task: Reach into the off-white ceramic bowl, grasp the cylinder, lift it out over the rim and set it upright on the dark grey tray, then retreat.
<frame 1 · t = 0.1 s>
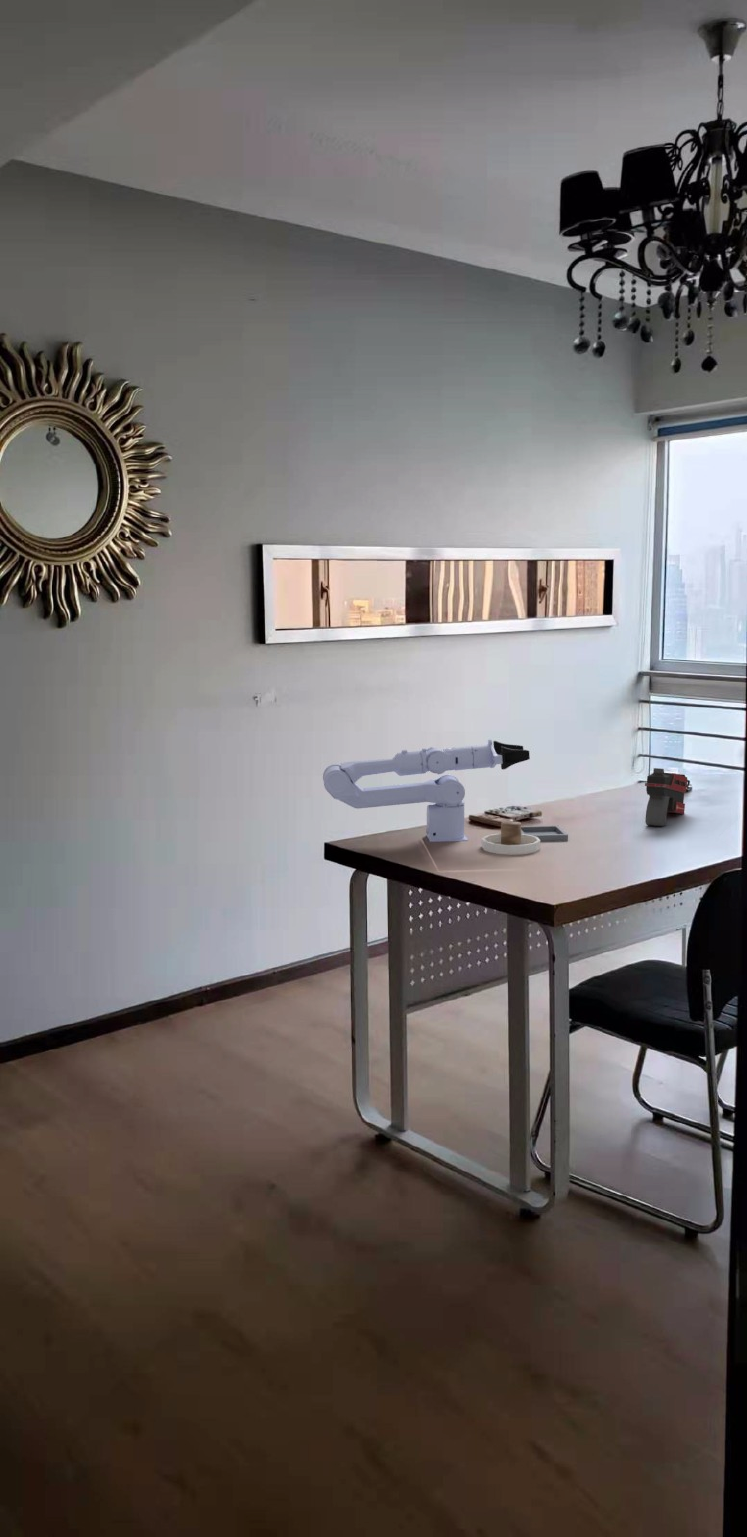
hand: (526, 752, 297), 22 cm above the table, tool horizontal, fingers open, 7 cm apart
toy gun: (665, 820, 321), on the table
cylinder: (510, 847, 287), resting on bowl
tray: (541, 837, 300), on the table
bowl: (510, 849, 287), on the table
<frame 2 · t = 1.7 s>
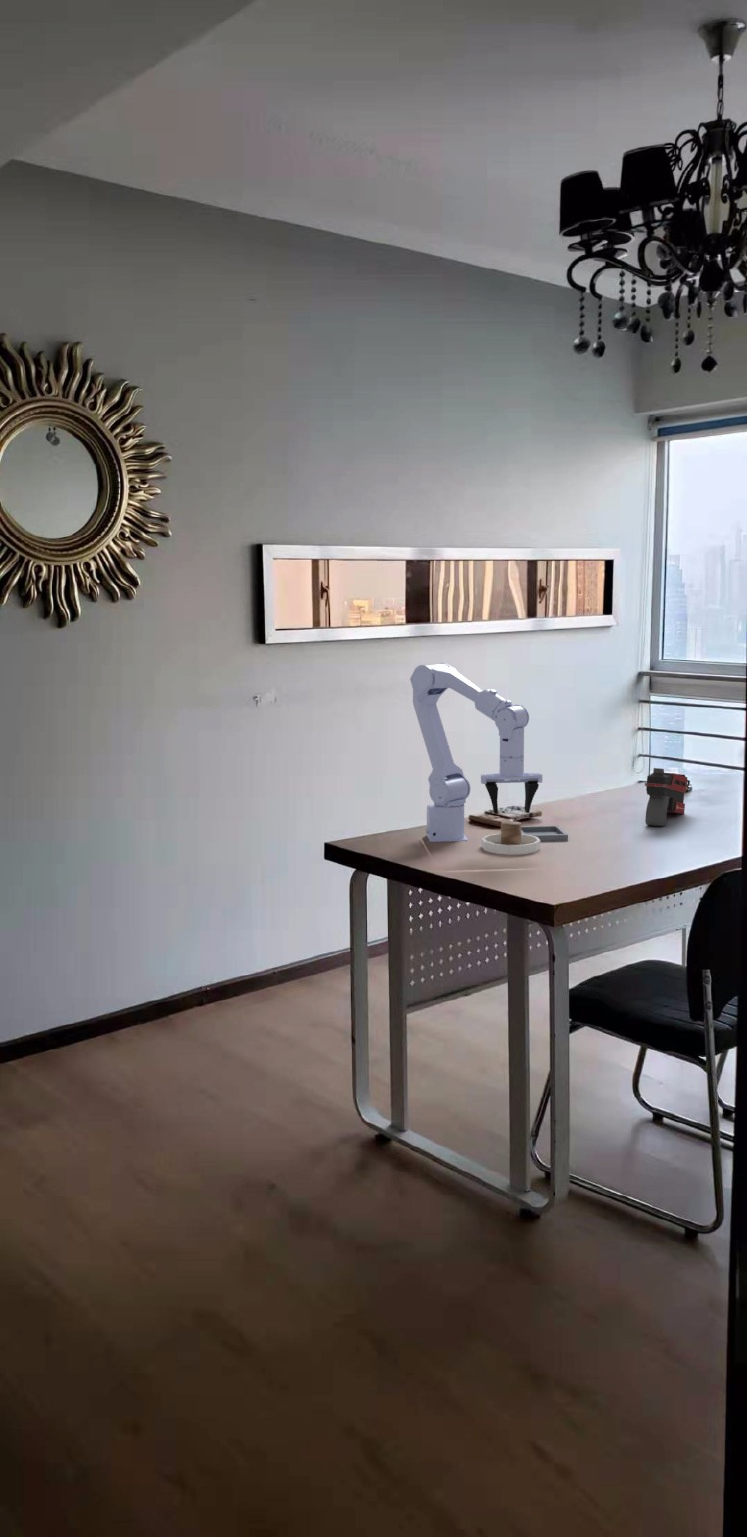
hand: (511, 812, 286), 9 cm above the table, tool pointing down, fingers open, 7 cm apart
nothing on the table moved.
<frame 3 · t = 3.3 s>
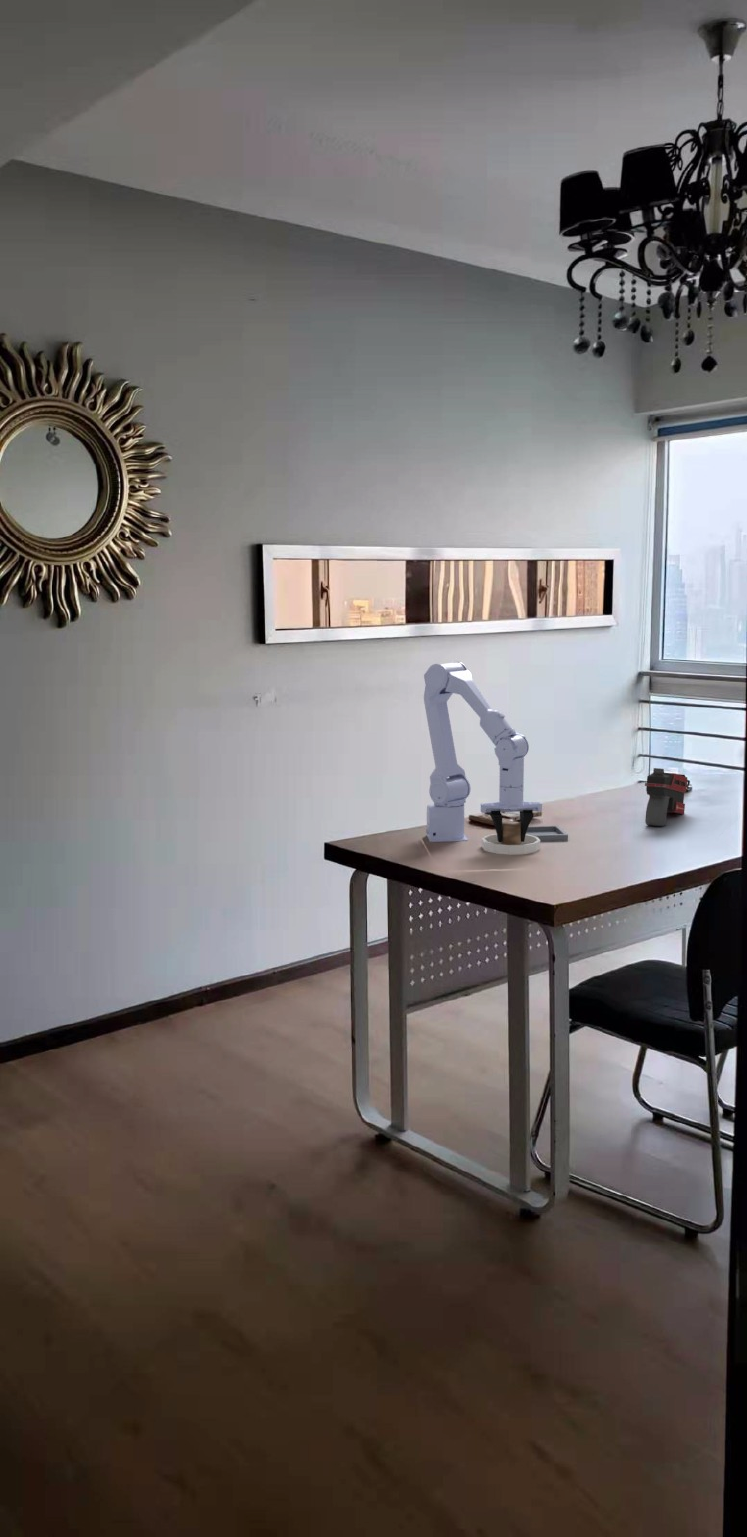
hand: (510, 841, 287), 2 cm above the table, tool pointing down, fingers closed on cylinder, 5 cm apart
cylinder: (510, 847, 287), resting on bowl, touching gripper
everything else where it was.
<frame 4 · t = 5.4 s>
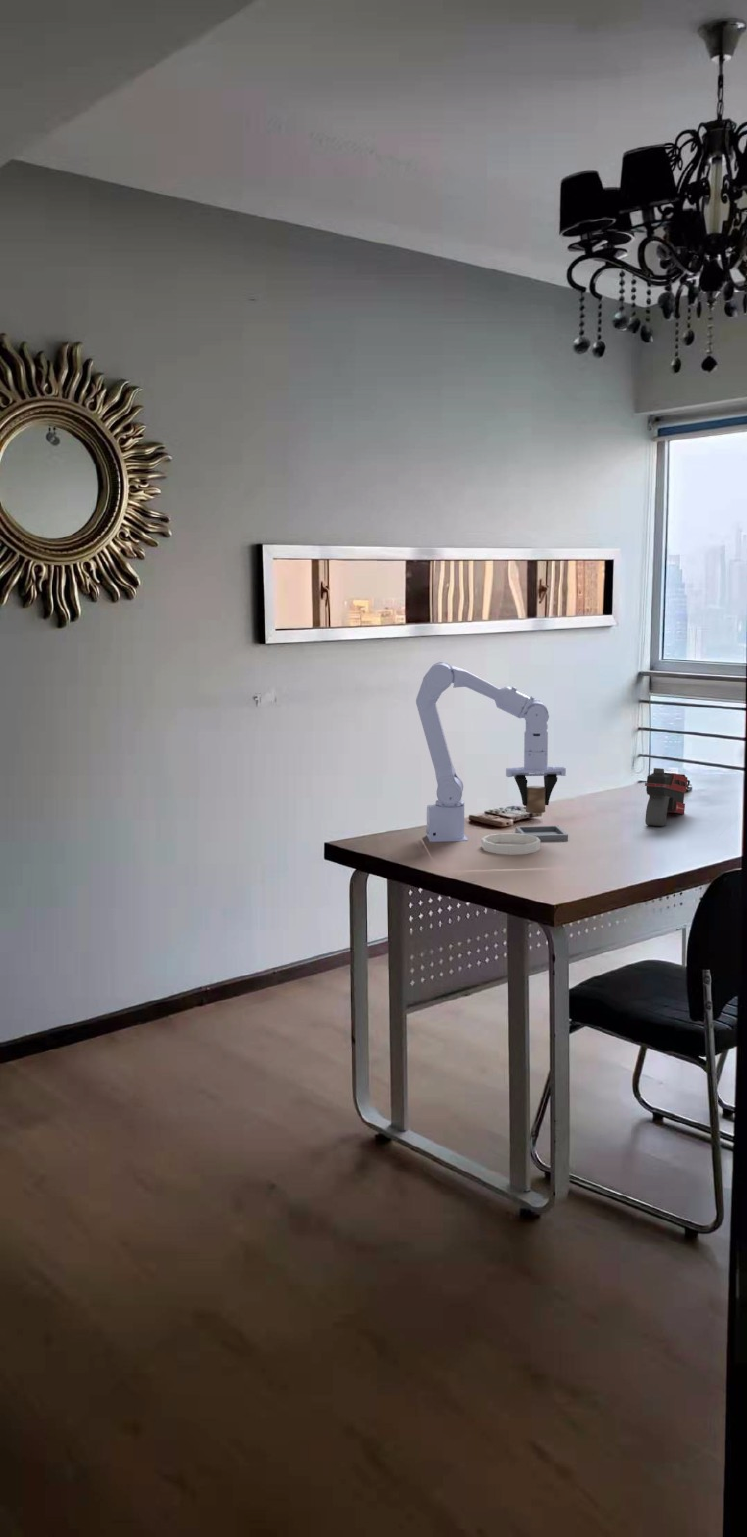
hand: (535, 804, 296), 9 cm above the table, tool pointing down, fingers closed on cylinder, 5 cm apart
cylinder: (535, 811, 296), point 7 cm above the table, touching gripper
everything else where it was.
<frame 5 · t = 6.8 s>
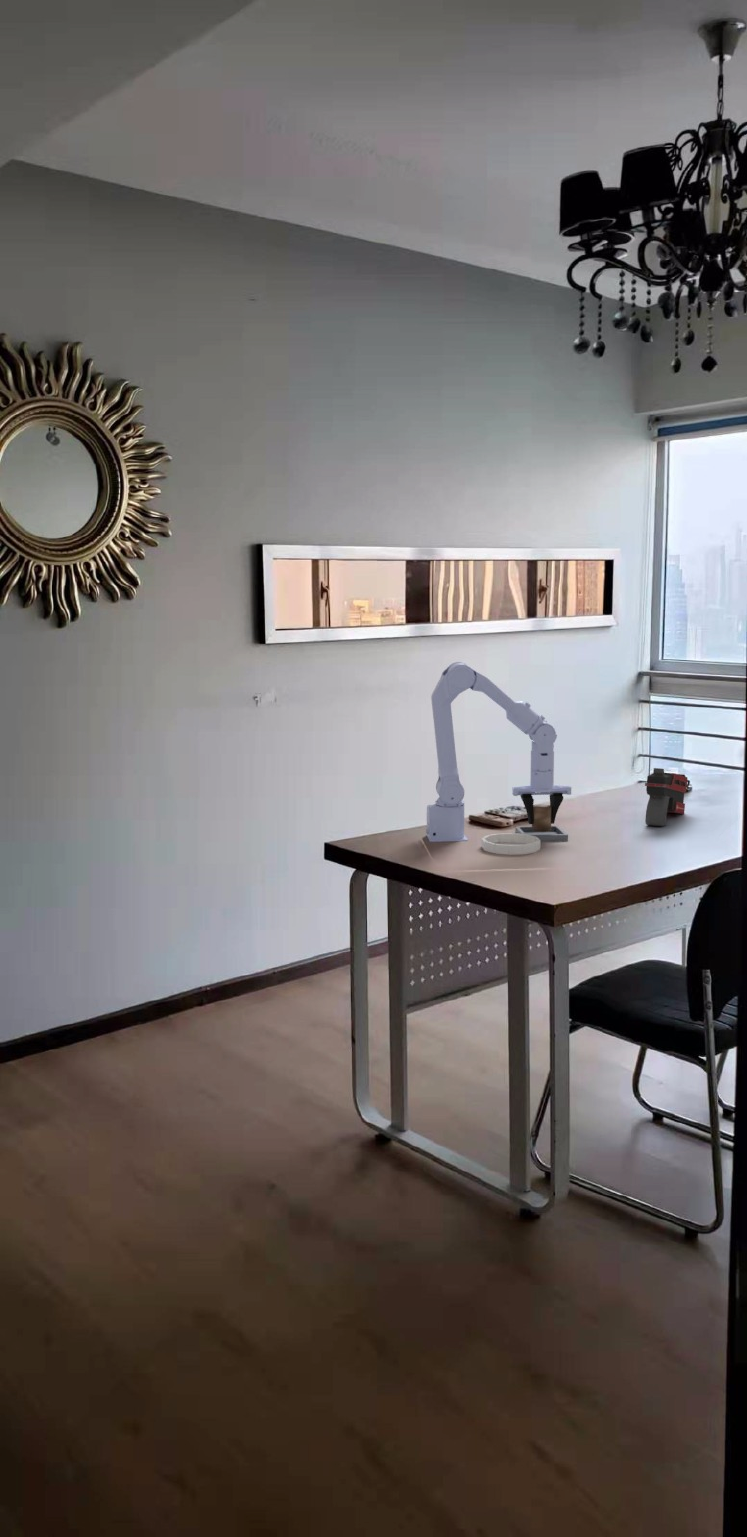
hand: (541, 823, 299), 4 cm above the table, tool pointing down, fingers closed on cylinder, 5 cm apart
cylinder: (541, 829, 299), point 2 cm above the table, touching gripper
everything else where it was.
when the fingers open (4 cm above the table, at t = 7.6 s): cylinder drops 1 cm, resting on tray.
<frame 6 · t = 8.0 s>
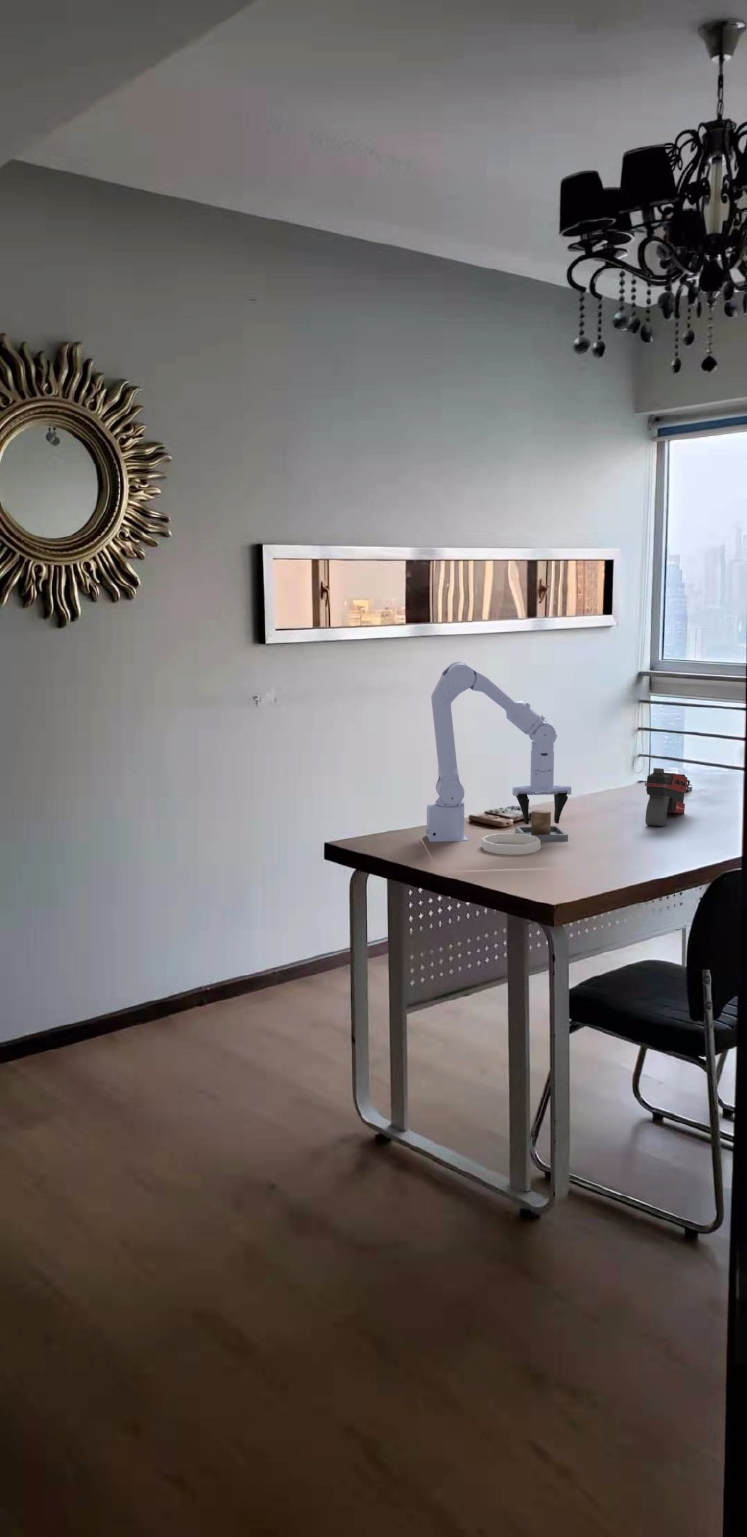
hand: (541, 823, 299), 4 cm above the table, tool pointing down, fingers open, 7 cm apart
cylinder: (540, 835, 300), point 1 cm above the table, touching tray
everything else where it was.
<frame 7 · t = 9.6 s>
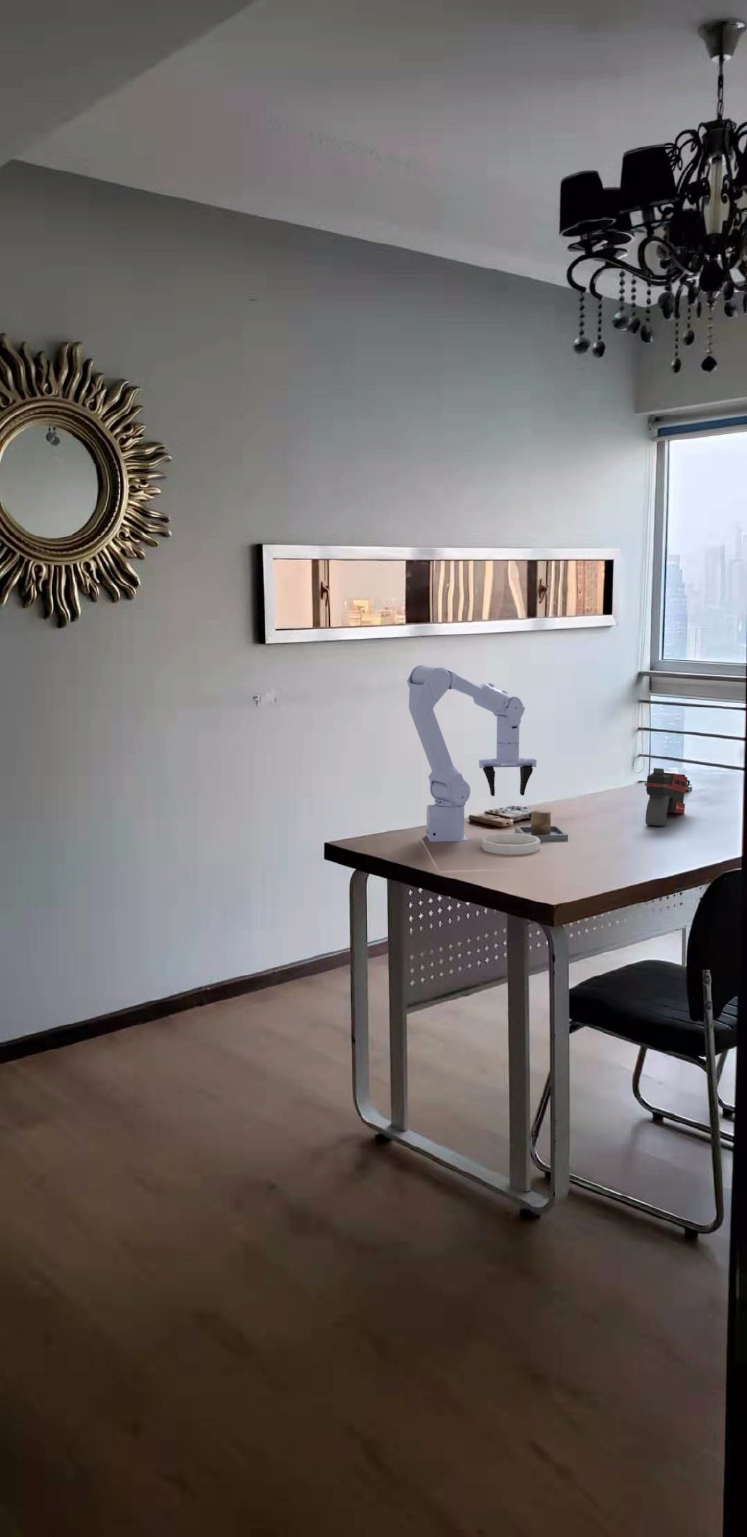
hand: (507, 795, 307), 9 cm above the table, tool pointing down, fingers open, 7 cm apart
nothing on the table moved.
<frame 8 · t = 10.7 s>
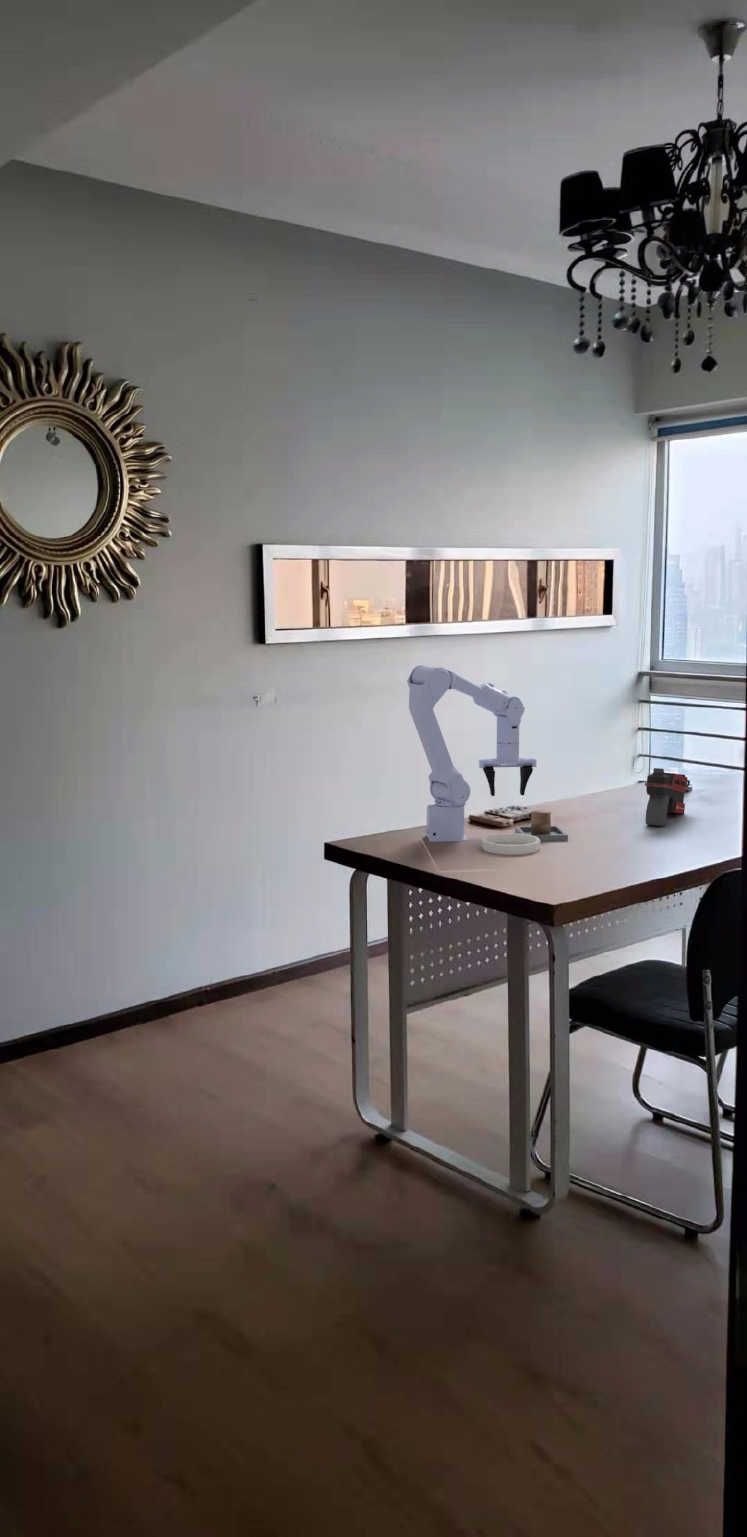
hand: (507, 795, 307), 9 cm above the table, tool pointing down, fingers open, 7 cm apart
nothing on the table moved.
at the end: cylinder inside the target area on the tray (0.3 cm from its centre), point 0.6 cm above the tray's base; cylinder tilted 0°; the gripper is holding nothing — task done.
